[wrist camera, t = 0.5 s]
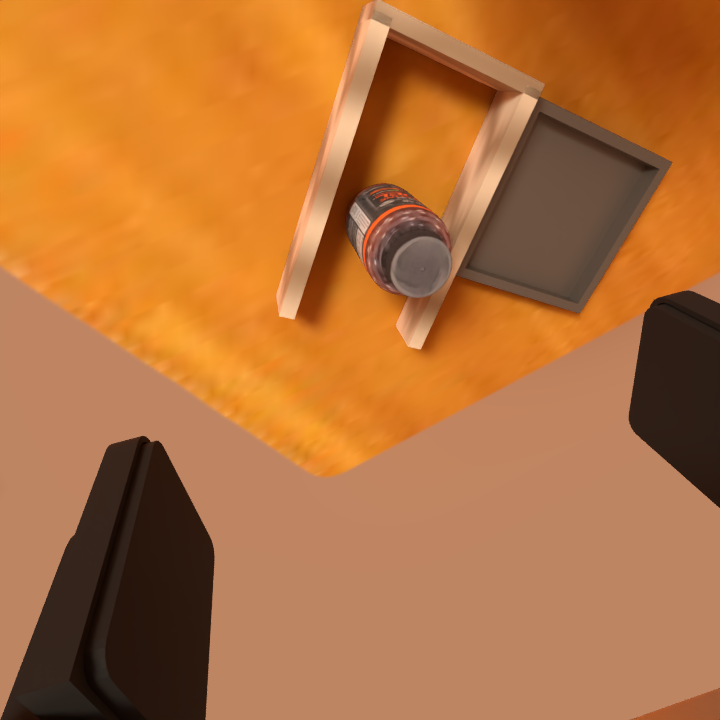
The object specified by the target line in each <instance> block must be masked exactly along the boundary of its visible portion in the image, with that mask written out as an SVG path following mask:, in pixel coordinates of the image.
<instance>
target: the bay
mask: <svg viewBox="0 0 720 720" xmlns="http://www.w3.org/2000/svg"><path fill="white" fill-rule="evenodd" d="M386 37H387V38H389V39H391V40H393V41H395V42H397V43H399V44H401V45H404V46H406V47H408V48H410V49H412V50H414V51H416V52H418V53H420V54H422V55H424V56H426V57H428V58H431V59H433V60H435V61H437V62H439V63H441V64H443V65H445V66H447V67H449V68H451V69H453V70H456V71H458V72H460V73H462V74H464V75H466V76H468V77H470V78H472V79H474V80H476V81H478V82H481V83H483V84H485V85H487V86H489V87H491V88H493V89H495V90H497V92H496V94H495V97H494V99H493V101H492V104H491V106H490V108H489V111H488V113H487V115H486V117H485V120H484V122H483V124H482V127H481V129H480V131H479V134H478V136H477V138H476V141H475V143H474V145H473V148H472V150H471V152H470V154H469V157H468V159H467V161H466V164H465V166H464V168H463V171H462V173H461V175H460V178H459V180H458V182H457V185H456V187H455V189H454V192H453V194H452V196H451V198H450V201H449V203H448V205H447V208H446V210H445V212H444V215H443V217H442V219H441V220H442V221H443V223H444V224H445V225H446V227H447V229H448V232H449V234H450V238H451V246H452V249H451V256H452V270H451V274H450V276H449V278H448V280H447V282H446V283H445V284H444V286H443V287H442V288H441V289H440V290H438V291H437V292H435V293H434V294H432V295H430V296H427V297H423V298H412V297H408V298H407V300H406V303H405V305H404V307H403V309H402V312H401V314H400V316H399V319H398V321H397V323H396V327H397V328H398V330H399V332H400V334H401V335H402V337H403V339H404V340H405V342H406V344H407V345H408V347H412V348H416V349H420V350H421V348H422V345H423V343H424V341H425V339H426V337H427V335H428V333H429V331H430V328H431V326H432V324H433V322H434V320H435V318H436V316H437V313H438V311H439V309H440V307H441V305H442V303H443V301H444V299H445V296H446V294H447V292H448V290H449V288H450V286H451V284H452V282H453V279H454V277H455V275H456V273H457V271H458V269H459V267H460V264H461V262H462V260H463V258H464V256H465V254H466V252H467V250H468V247H469V245H470V243H471V241H472V239H473V237H474V235H475V233H476V230H477V228H478V226H479V224H480V222H481V220H482V218H483V216H484V213H485V211H486V209H487V207H488V205H489V203H490V201H491V198H492V196H493V194H494V192H495V190H496V188H497V186H498V184H499V181H500V179H501V177H502V175H503V173H504V171H505V169H506V167H507V164H508V162H509V160H510V158H511V156H512V154H513V152H514V149H515V147H516V145H517V143H518V141H519V139H520V137H521V135H522V132H523V130H524V128H525V126H526V124H527V122H528V120H529V118H530V115H531V113H532V111H533V109H534V107H535V105H536V103H537V100H538V98H539V96H540V94H541V92H542V90H543V88H544V86H545V84H544V83H542V82H540V81H538V80H536V79H534V78H532V77H530V76H528V75H526V74H525V73H523V72H521V71H519V70H517V69H515V68H513V67H511V66H509V65H507V64H505V63H503V62H501V61H499V60H497V59H495V58H493V57H491V56H489V55H487V54H485V53H483V52H481V51H479V50H477V49H475V48H473V47H471V46H469V45H467V44H465V43H463V42H461V41H459V40H458V39H456V38H454V37H452V36H450V35H448V34H446V33H444V32H442V31H440V30H438V29H436V28H434V27H432V26H430V25H428V24H426V23H424V22H422V21H420V20H418V19H416V18H414V17H412V16H410V15H408V14H406V13H404V12H402V11H400V10H398V9H396V8H394V7H392V6H390V5H389V4H387V3H385V2H383V1H381V0H374V1H372V2H370V3H368V4H366V5H364V6H363V8H362V12H361V15H360V18H359V22H358V25H357V28H356V31H355V35H354V38H353V41H352V45H351V48H350V51H349V55H348V58H347V61H346V65H345V68H344V71H343V75H342V78H341V81H340V85H339V88H338V91H337V95H336V98H335V101H334V105H333V108H332V111H331V115H330V118H329V121H328V125H327V128H326V131H325V135H324V138H323V141H322V145H321V148H320V151H319V155H318V158H317V161H316V165H315V168H314V171H313V175H312V178H311V181H310V185H309V188H308V191H307V194H306V198H305V201H304V204H303V208H302V211H301V214H300V218H299V221H298V224H297V228H296V231H295V234H294V238H293V241H292V244H291V248H290V251H289V254H288V258H287V261H286V264H285V268H284V271H283V274H282V278H281V281H280V284H279V288H278V291H277V294H276V297H277V304H278V311H279V316H281V317H285V318H290V319H295V316H296V313H297V310H298V307H299V304H300V301H301V298H302V295H303V292H304V289H305V285H306V282H307V279H308V276H309V273H310V270H311V267H312V264H313V261H314V258H315V255H316V252H317V249H318V246H319V243H320V240H321V236H322V233H323V230H324V227H325V224H326V221H327V218H328V215H329V212H330V209H331V206H332V203H333V200H334V197H335V194H336V191H337V187H338V184H339V181H340V178H341V175H342V172H343V169H344V166H345V163H346V160H347V157H348V154H349V151H350V148H351V145H352V142H353V138H354V135H355V132H356V129H357V126H358V123H359V120H360V117H361V114H362V111H363V108H364V105H365V102H366V99H367V96H368V93H369V89H370V86H371V83H372V80H373V77H374V74H375V71H376V68H377V65H378V62H379V59H380V56H381V53H382V50H383V47H384V44H385V40H386Z"/></svg>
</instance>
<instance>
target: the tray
mask: <svg viewBox="0 0 720 720" xmlns="http://www.w3.org/2000/svg"><path fill="white" fill-rule="evenodd" d="M672 163H673V162H671V161H669V160H667V159H665V158H663V157H661V156H659V155H657V154H655V153H653V152H651V151H649V150H647V149H644V148H642V147H640V146H638V145H636V144H634V143H632V142H630V141H628V140H626V139H624V138H622V137H620V136H618V135H616V134H614V133H612V132H610V131H608V130H606V129H604V128H602V127H600V126H598V125H596V124H594V123H592V122H590V121H588V120H586V119H584V118H582V117H580V116H578V115H576V114H574V113H571V112H569V111H567V110H565V109H563V108H561V107H559V106H557V105H555V104H553V103H551V102H549V101H547V100H545V99H543V98H541V97H539V98H538V100H537V103H536V105H535V107H534V109H533V111H532V113H531V115H530V118H529V120H528V122H527V124H526V126H525V128H524V130H523V132H522V135H521V137H520V139H519V141H518V143H517V145H516V147H515V149H514V152H513V154H512V156H511V158H510V160H509V162H508V164H507V167H506V169H505V171H504V173H503V175H502V177H501V179H500V181H499V184H498V186H497V188H496V190H495V192H494V194H493V196H492V198H491V201H490V203H489V205H488V207H487V209H486V211H485V213H484V216H483V218H482V220H481V222H480V224H479V226H478V228H477V230H476V233H475V235H474V237H473V239H472V241H471V243H470V245H469V247H468V250H467V252H466V254H465V256H464V258H463V260H462V262H461V264H460V267H459V269H458V271H457V273H456V276H459V277H462V278H465V279H469V280H472V281H475V282H479V283H482V284H485V285H488V286H492V287H495V288H498V289H501V290H505V291H508V292H511V293H514V294H518V295H521V296H524V297H527V298H531V299H534V300H537V301H540V302H544V303H547V304H550V305H553V306H557V307H560V308H563V309H567V310H570V311H573V312H576V313H580V312H581V311H582V309H583V308H584V306H585V304H586V303H587V301H588V299H589V298H590V296H591V295H592V293H593V291H594V290H595V288H596V286H597V285H598V283H599V282H600V280H601V278H602V277H603V275H604V273H605V272H606V270H607V268H608V267H609V265H610V264H611V262H612V260H613V259H614V257H615V255H616V254H617V252H618V251H619V249H620V247H621V246H622V244H623V242H624V241H625V239H626V238H627V236H628V234H629V233H630V231H631V229H632V228H633V226H634V224H635V223H636V221H637V220H638V218H639V216H640V215H641V213H642V211H643V210H644V208H645V207H646V205H647V203H648V202H649V200H650V198H651V197H652V195H653V194H654V192H655V190H656V189H657V187H658V185H659V184H660V182H661V180H662V179H663V177H664V176H665V174H666V172H667V171H668V169H669V167H670V166H671V164H672Z"/></svg>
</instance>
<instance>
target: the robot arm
mask: <svg viewBox="0 0 720 720" xmlns="http://www.w3.org/2000/svg"><path fill="white" fill-rule="evenodd" d="M629 422H630V425H631V428H632V429H633V431H634V432H635V433H636V434H637V435H638V436H639V437H640V438H641V439H642V440H643V441H645V442H646V443H647V444H648V445H649V446H650V447H651V448H652V449H654V450H655V451H656V452H657V453H658V454H659V455H660V456H662V457H663V458H664V459H665V460H666V461H667V462H668V463H669V464H671V465H672V466H673V467H674V468H675V469H676V470H677V471H679V472H680V473H681V474H682V475H683V476H684V477H685V478H686V479H687V480H689V481H690V482H691V483H692V484H693V485H694V486H695V487H697V488H698V489H699V490H700V491H701V492H702V493H703V494H705V495H706V496H707V497H708V498H709V499H710V500H711V501H712V502H714V503H715V504H716V505H717V506H718V507H719V508H720V304H719V303H717V302H715V301H713V300H711V299H708V298H706V297H704V296H702V295H700V294H697V293H695V292H692V291H682V292H678V293H674V294H670V295H667V296H663V297H659V298H657V299H655V300H654V301H653V302H652V304H651V306H650V308H649V309H647V311H646V312H645V315H644V321H643V326H642V333H641V340H640V346H639V353H638V359H637V366H636V372H635V378H634V385H633V391H632V398H631V405H630V411H629ZM213 576H214V548H213V544H212V541H211V538H210V536H209V534H208V532H207V530H206V528H205V526H204V524H203V523H202V521H201V519H200V517H199V515H198V513H197V511H196V509H195V507H194V505H193V503H192V501H191V499H190V497H189V495H188V493H187V492H186V490H185V488H184V486H183V484H182V482H181V480H180V478H179V476H178V474H177V472H176V470H175V468H174V466H173V465H172V463H171V461H170V459H169V457H168V455H167V453H166V451H165V449H164V447H163V446H162V444H161V443H160V442H159V441H154V442H150V440H149V439H148V438H147V437H145V436H141V437H137V438H133V439H129V440H125V441H122V442H118V443H114V444H111V445H109V446H108V448H107V449H106V452H105V454H104V457H103V460H102V463H101V465H100V468H99V471H98V474H97V476H96V479H95V481H94V484H93V487H92V490H91V492H90V495H89V498H88V500H87V503H86V506H85V509H84V511H83V514H82V517H81V519H80V522H79V525H78V527H77V530H76V533H75V535H74V536H73V537H72V538H71V539H70V541H69V543H68V544H67V546H66V548H65V551H64V554H63V556H62V559H61V562H60V564H59V567H58V569H57V572H56V575H55V577H54V580H53V583H52V585H51V588H50V591H49V593H48V596H47V598H46V602H45V604H44V606H43V609H42V612H41V615H40V617H39V620H38V623H37V625H36V628H35V630H34V633H33V635H32V638H31V641H30V643H29V646H28V649H27V652H26V654H25V657H24V659H23V662H22V665H21V667H20V670H19V672H18V675H17V678H16V680H15V683H14V686H13V688H12V691H11V693H10V696H9V699H8V701H7V704H6V707H5V709H4V712H3V715H2V717H1V720H205V717H206V700H207V699H206V698H207V682H208V664H209V647H210V628H211V610H212V593H213ZM631 720H720V688H719V689H716V690H713V691H710V692H707V693H704V694H702V695H699V696H696V697H693V698H690V699H687V700H685V701H682V702H679V703H676V704H674V705H671V706H668V707H665V708H662V709H660V710H657V711H654V712H651V713H648V714H645V715H643V716H640V717H637V718H634V719H631Z"/></svg>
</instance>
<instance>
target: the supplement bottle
mask: <svg viewBox="0 0 720 720" xmlns="http://www.w3.org/2000/svg"><path fill="white" fill-rule="evenodd" d="M346 231H347V235H348V237H349V240H350V242H351V244H352V246H353V247H354V249H355V251H356V252H357V254H358V256H359V258H360V259H361V261H362V263H363V264H364V266H365V268H366V270H367V271H368V273H369V274H370V276H371V278H372V279H373V280H374V281H375V283H376V284H377V285H378V286H380V287H381V288H382V289H384V290H386V291H388V292H390V293H393V294H397V295H405V296H408V297H412V298H423V297H427V296H430V295H432V294H434V293H435V292H437V291H438V290H440V289H441V288H442V287H443V286H444V284H445V283H446V282H447V280H448V278H449V276H450V274H451V270H452V256H451V249H452V246H451V238H450V234H449V232H448V229H447V227H446V225H445V224H444V223H443V221H442V220H441V219H440V218H439V217H438V216H437V215H436V214H434V213H433V212H432V211H431V210H430V209H428V208H427V207H426V206H424V205H423V204H422V203H420V202H419V201H418V200H417V199H416V198H414V197H413V196H412V195H411V194H409V193H408V192H407V191H405V190H404V189H402V188H400V187H398V186H395V185H392V184H387V183H382V184H376V185H372V186H370V187H367V188H366V189H364V190H363V191H361V192H359V193H358V194H357V196H356V197H355V198H354V199H353V201H352V202H351V204H350V206H349V208H348V211H347V214H346Z"/></svg>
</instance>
